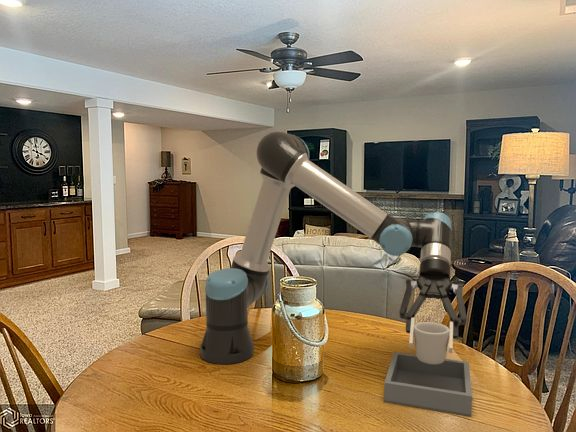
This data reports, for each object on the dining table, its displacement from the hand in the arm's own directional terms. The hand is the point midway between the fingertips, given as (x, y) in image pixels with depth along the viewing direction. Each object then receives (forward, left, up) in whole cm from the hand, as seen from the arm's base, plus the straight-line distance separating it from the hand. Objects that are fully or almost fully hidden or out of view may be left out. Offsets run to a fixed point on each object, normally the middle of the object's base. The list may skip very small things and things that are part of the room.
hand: (430, 348), depth 104 cm
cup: (0, +3, -4) cm, 5 cm away
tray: (0, +3, -12) cm, 12 cm away
